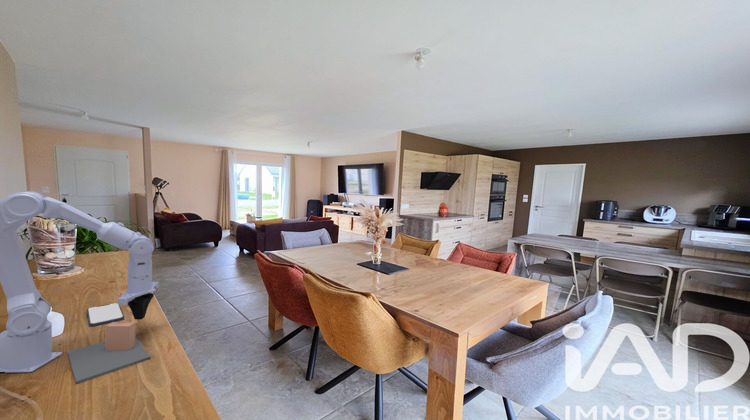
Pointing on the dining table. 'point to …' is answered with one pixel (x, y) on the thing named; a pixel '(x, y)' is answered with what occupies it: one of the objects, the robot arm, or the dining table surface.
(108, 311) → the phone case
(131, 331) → the tile
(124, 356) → the mat
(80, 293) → the dining table surface
